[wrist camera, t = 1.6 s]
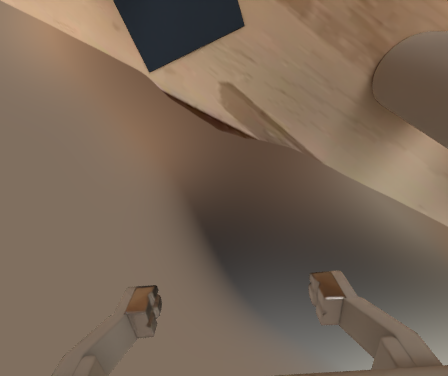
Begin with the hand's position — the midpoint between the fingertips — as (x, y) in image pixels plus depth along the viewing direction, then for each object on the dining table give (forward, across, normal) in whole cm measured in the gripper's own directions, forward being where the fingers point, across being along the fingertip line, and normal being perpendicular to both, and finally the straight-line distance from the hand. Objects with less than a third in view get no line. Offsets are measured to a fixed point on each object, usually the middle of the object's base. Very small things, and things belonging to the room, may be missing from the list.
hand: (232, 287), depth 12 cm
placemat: (+42, +7, -25) cm, 49 cm away
